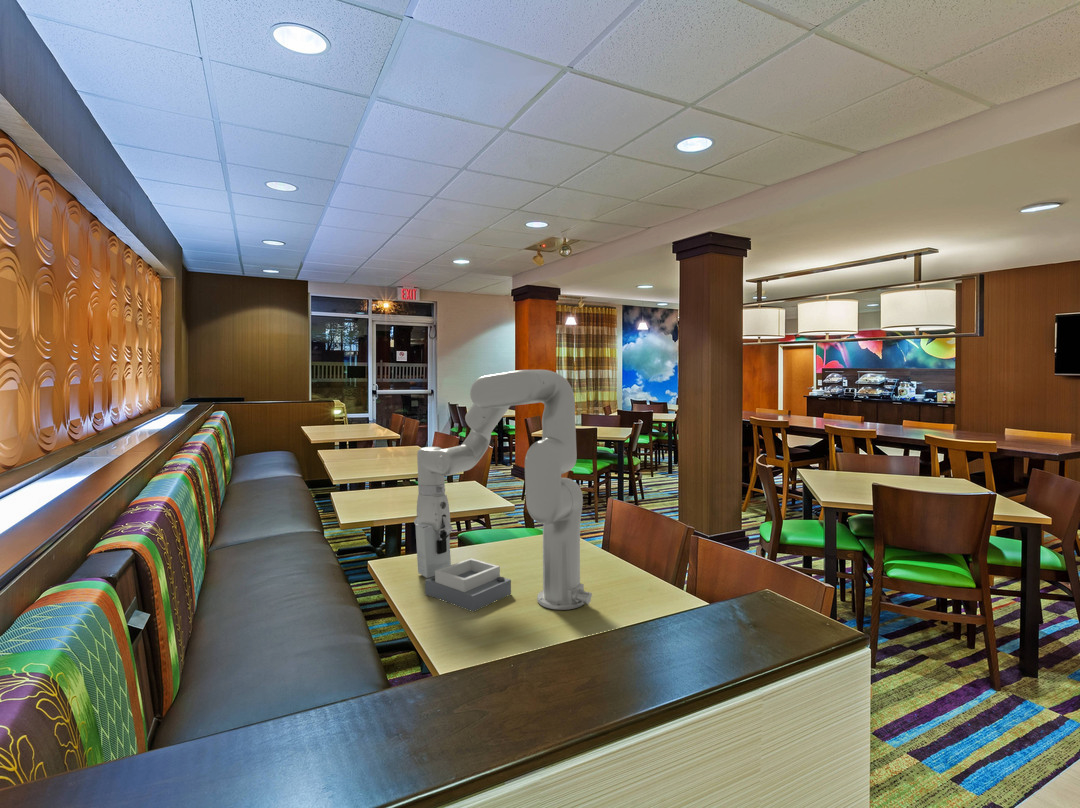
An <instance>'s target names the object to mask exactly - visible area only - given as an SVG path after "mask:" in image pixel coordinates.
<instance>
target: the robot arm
mask: <svg viewBox="0 0 1080 808" xmlns="http://www.w3.org/2000/svg"><path fill="white" fill-rule="evenodd" d="M469 394H470V399H471V402H472V403H473V404H472V405H471V406H470V409H469V410H467V412H466V414H465V416H464V418H465V420H464V421H465V422H466V425H467V426H468V427H469V428H470V432H469V434H468V435H467V437H465V439H464V441H463V442H462V443H461V444H460V445H456V446H453V447H448V448H442V447H440V446H424V447H421V448H419V449H418V450H417V455H416V457H417V483H418V485H417V487H418V488H417V489H418V490H417V491H418V492H417V493H418V494H417V501H416V517H415V518H414V519H413V523H414V525H415V526H416V524H425V525H429V526H432V527H433V530H434V531H436V534H437V537H438V540H437V554H442V553H445V552H446V551H447V543H446V539H447V538H448V536H449V537H450V535H451V532H452V531H453V529H454V528H453V526H452V524H451V513H450V504H449V500H448V499H449V498H448V495H447V494H446V487H445V486H446V485H445V476H453V475H456V474H459V473H463V472H466V471H469V470H471V469H473V468H474V467H475V466H476V465H477V464H478V462H480V460H481V459H482V458H483V456H484V455H485V453H486V451H487V450H488V448H489V447H490V446H489V445H490V443H491V439H492V432H493V431H494V429H495V428H496V426H497V425H498V423H499V422H500V421H501V420H502V418H503V417H504V415H505V414H506V413H507V411H508V410H509V409H510V407H512V406H521V405H529V404H539V403H542V404H543V405H544V408H543V412H542V415H541V416H542V418H541V428H542V430H541V431H542V432H541V433H542V434H541V435H542V437H541V439H539V440H537V441H535V442H534V443H532V444H531V445H530V447H529V448H528V450H527V452H526V454H525V458H524V479H525V480H524V484H525V502H526V509H527V511H528V514H529V516H530V517H531V519H532V520H533V521H535V522H536V523H538V524H541V525H543V527H542V585H543V586H542V590H541V591H540V592H538V594H537V596H536V601H537V602H538V604H539V605H540V606H542V607H544V608H546V609H550V610H555V611H556V610H557V611H567V610H572V609H573V610H575V609H578V608H579V607H582V606H583V605H585V604H587V605H589V604H590V603H591V601H592V596H593V594H592V592H590V591H586V590H584V587H585V586H584V584H583V583H581V520H582V519H581V518H582V514H583V513H582V510H583V504H584V498H583V491H582V489H581V487H580V485H579V484H578V483H577V481H574V480H573V479H572V478H568V477H562V475H563V474H565V473H567V472H570V471H571V470H572V469H573V468H574V467H575V465H576V463H577V458H578V457H577V456H578V455H577V454H578V453H577V450H578V449H577V432H576V431H577V429H576V428H577V427H576V402H575V401H576V400H575V393H574V391H573V387H572V386H571V384H570V382H569V381H568V379H566V378H565V377H564V376H563V375H561V374H560V373H557V372H555V371H553V370H550V369H519V370H512V371H506V372H500V373H494V374H487V375H483V376H480V377H478V378H477V379H476V380H475V381H474V382H472V385H471V388H470V393H469ZM440 526H442V527H443V528H441V529H440ZM445 528H446V529H445ZM440 531H442V534H441V533H440Z"/></svg>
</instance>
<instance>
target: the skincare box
mask: <svg viewBox="0 0 1080 808" xmlns="http://www.w3.org/2000/svg"><path fill="white" fill-rule="evenodd" d="M441 528H443V527H442V526H440V529H441ZM445 529H446V528H445ZM440 533H441V534H442V531H440ZM415 539H416V559H417V561H416V563H417V574H419V575H421V576H423V577H424V578H426V579H429V578H431V577H432V576H435V571H436V570H439V569H442V568H445V567H448V566H450V565H452V561H451V541H450V535H449V536H448V538H447V539H446V543H447V551H446V552H445V553H442V554H437V540H438V537H437V534H436V531H434V530H433V527H432V526H429V525H425V524H416V525H415Z"/></svg>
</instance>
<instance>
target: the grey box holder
mask: <svg viewBox="0 0 1080 808" xmlns="http://www.w3.org/2000/svg"><path fill="white" fill-rule="evenodd" d="M500 568H501V566H499V565H497V564H493V563H490V562H487V561H482V560H478V559H476V558H472V557H471V558H468V559H464V560H462V561H461V560H460V561H459V562H456V563H454V564H451V565H450V566H448V567H445V568H442V569H439V570H436V571H435V576H432V577H429V578H426V579H424V588H425V589H424V590H425V591H424V592H425V593H424V594H426V596H428V595H429V596H428V597H431V596H432V597H431V598H433V597H435V598H434V599H436V598H438V599H437V600H439V599H441V600H440V601H442V600H444V601H447V602H449V603H448V604H450V603H452V604H455V605H457V606H456V607H458V606H460V607H459V608H461V607H463V608H466V609H468V610H467V611H469V610H471V611H474V612H476V611H475V610H477V609H479V608H481V607H483V606H485V607H487V606H489V605H491V604H490V603H492V602H494V601H496V600H498V601H500V600H502V599H504V598H503V597H505V596H507V595H509V596H511V595H512V579H511V578H506V577H504V576H501V569H500ZM510 594H511V595H510ZM507 597H508V596H507ZM501 598H502V599H501ZM505 598H506V597H505ZM499 599H500V600H499ZM444 601H443V602H444ZM447 602H446V603H447ZM496 602H497V601H496ZM494 603H495V602H494ZM452 604H451V605H452ZM488 604H489V605H488ZM492 604H493V603H492ZM455 605H454V606H455ZM486 605H487V606H486ZM463 608H462V609H463ZM483 608H484V607H483ZM466 609H465V610H466ZM481 609H482V608H481ZM479 610H480V609H479ZM471 611H470V612H471ZM477 611H478V610H477Z"/></svg>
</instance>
